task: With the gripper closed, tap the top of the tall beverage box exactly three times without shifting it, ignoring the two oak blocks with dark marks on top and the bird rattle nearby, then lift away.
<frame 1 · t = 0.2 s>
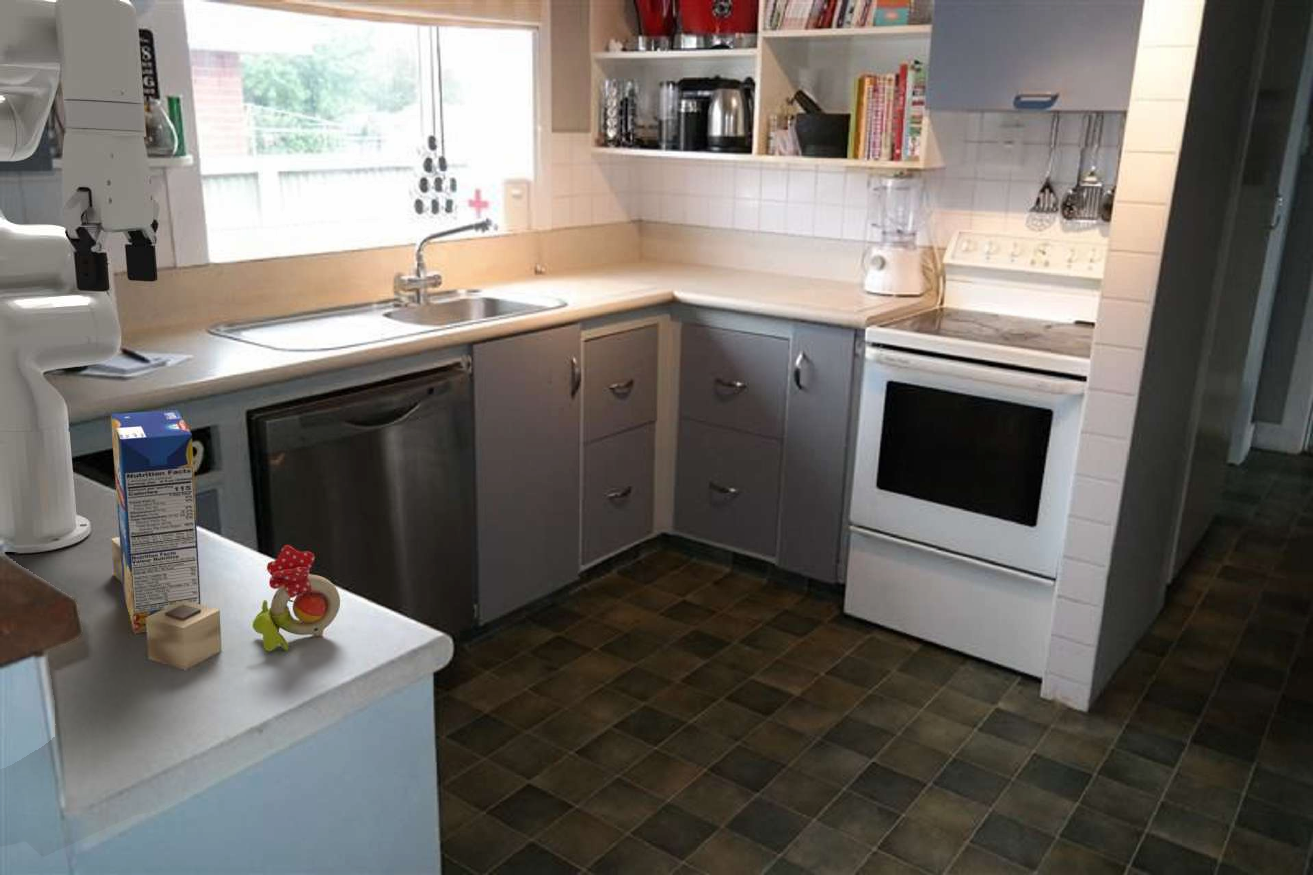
hand: (119, 285, 116), 37 cm above the counter, tool pointing down, fingers open, 9 cm apart
beverage box: (161, 610, 123), on the counter
marked oak block near: (185, 655, 113), on the counter
marked oak block far: (142, 577, 131), on the counter
bird rattle: (296, 641, 118), on the counter
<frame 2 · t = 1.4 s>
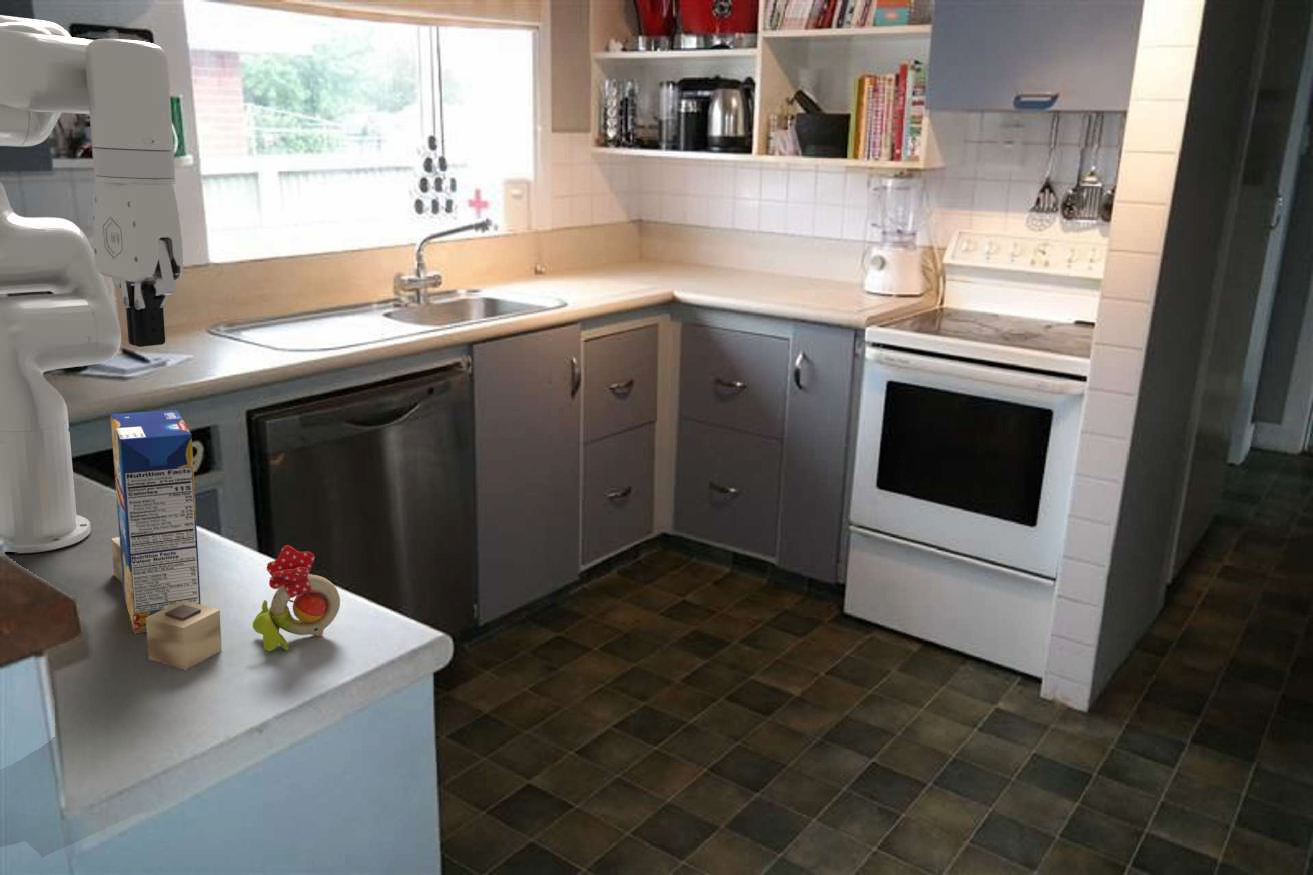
hand: (147, 344, 115), 31 cm above the counter, tool pointing down, fingers closed
nothing on the counter moved.
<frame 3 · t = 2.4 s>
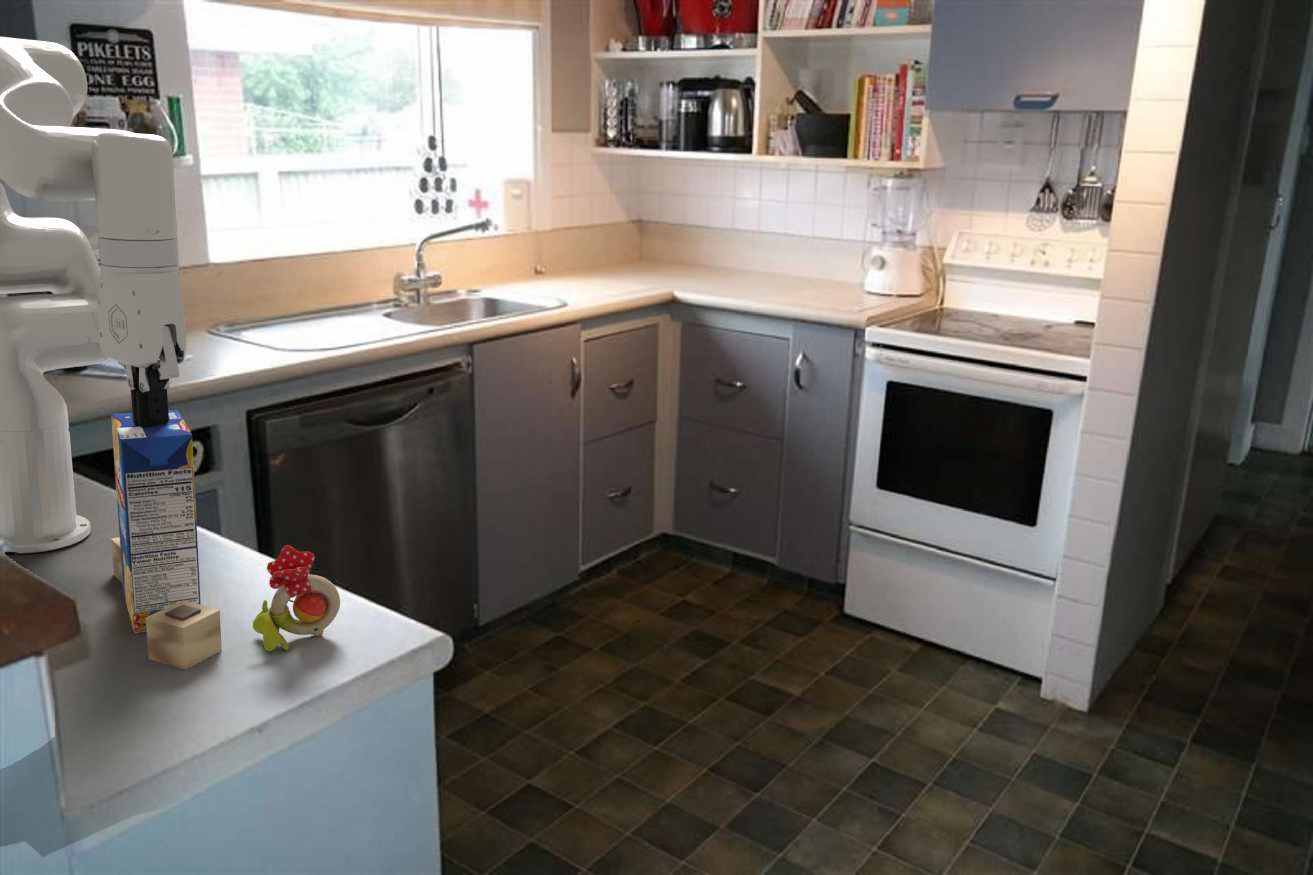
hand: (151, 424, 117), 22 cm above the counter, tool pointing down, fingers closed
beverage box: (161, 610, 123), on the counter, touching gripper
everything else where it was.
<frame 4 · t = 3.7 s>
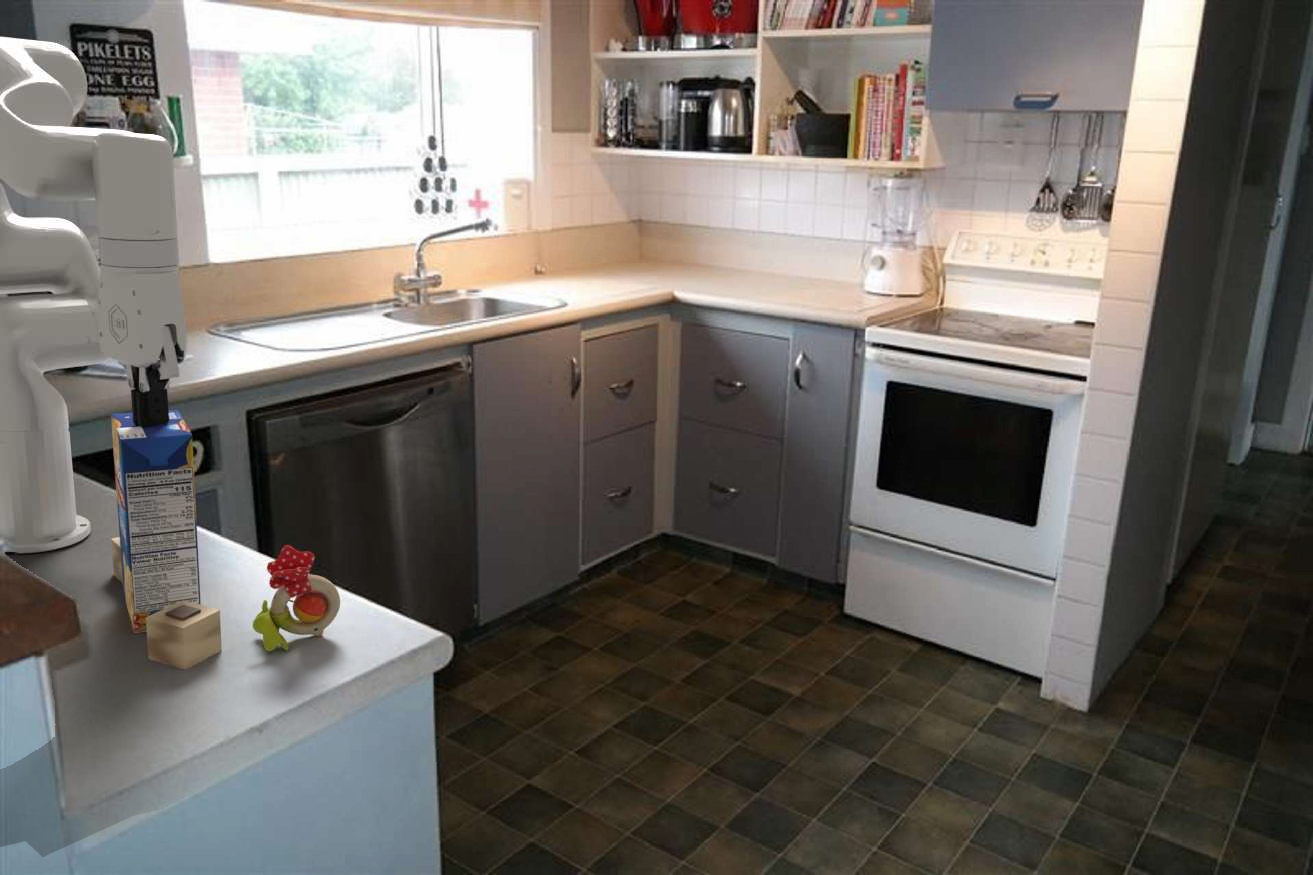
hand: (151, 424, 117), 22 cm above the counter, tool pointing down, fingers closed
nothing on the counter moved.
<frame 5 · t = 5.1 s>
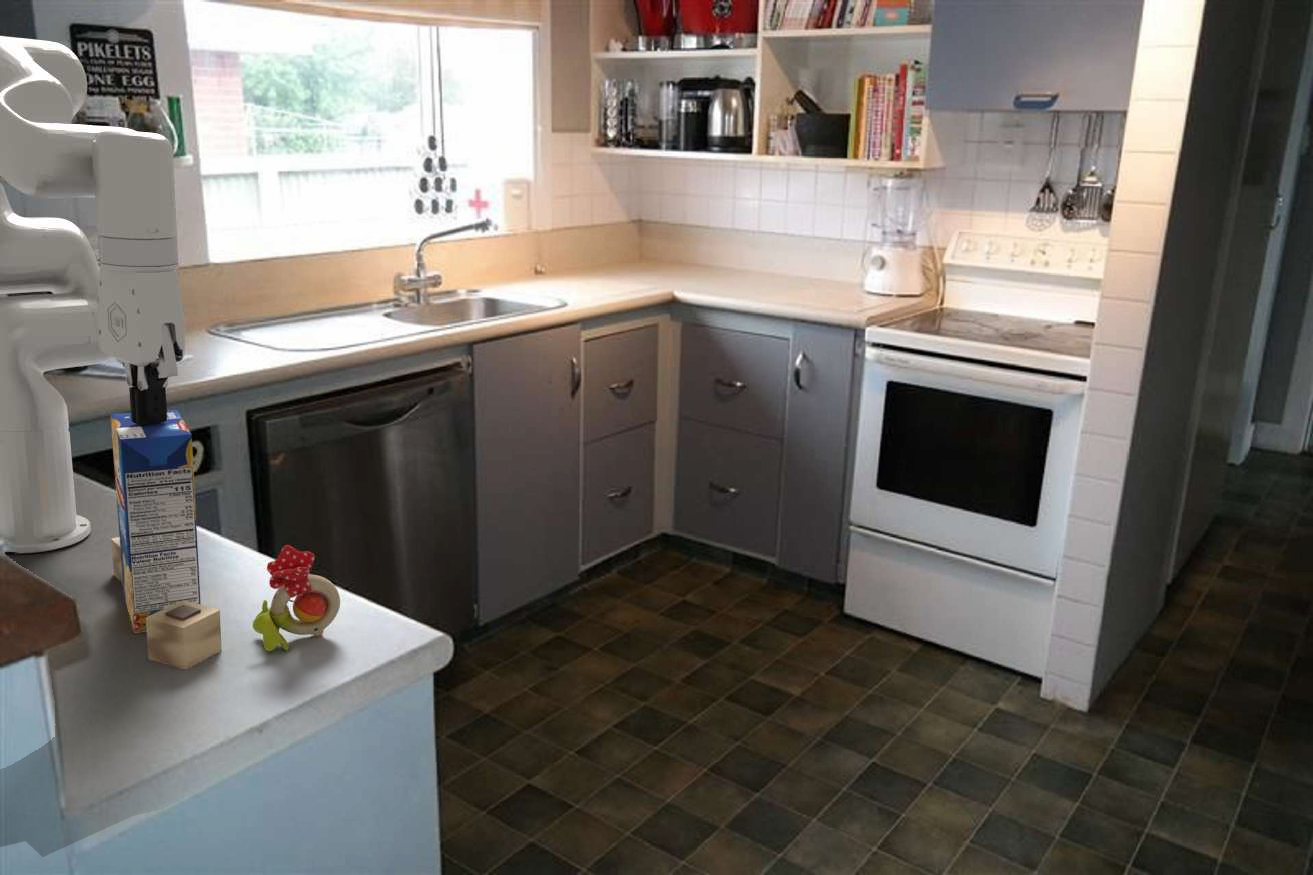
hand: (149, 421, 117), 22 cm above the counter, tool pointing down, fingers closed
beverage box: (161, 610, 123), on the counter
everything else where it was.
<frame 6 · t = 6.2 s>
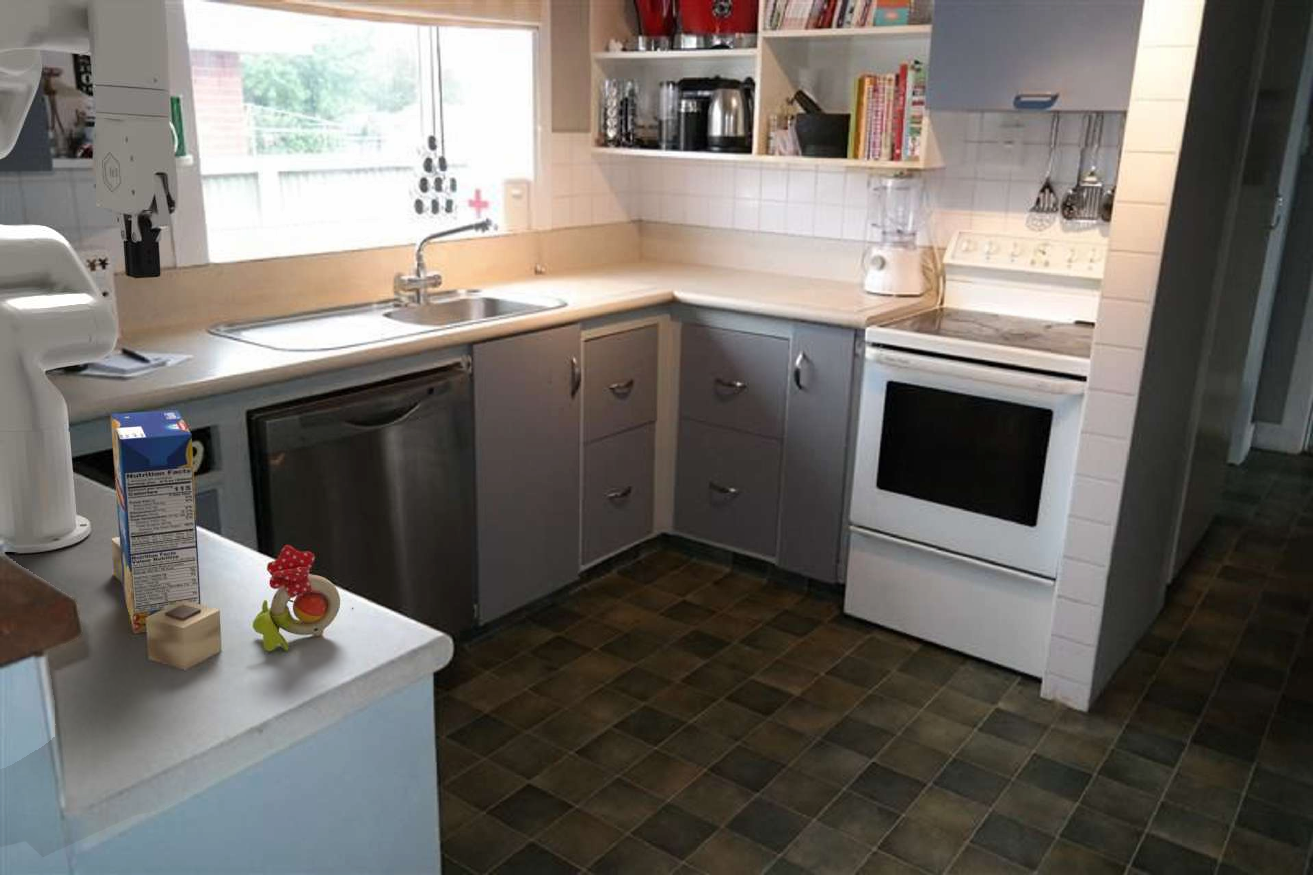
hand: (143, 276, 120), 37 cm above the counter, tool pointing down, fingers closed
nothing on the counter moved.
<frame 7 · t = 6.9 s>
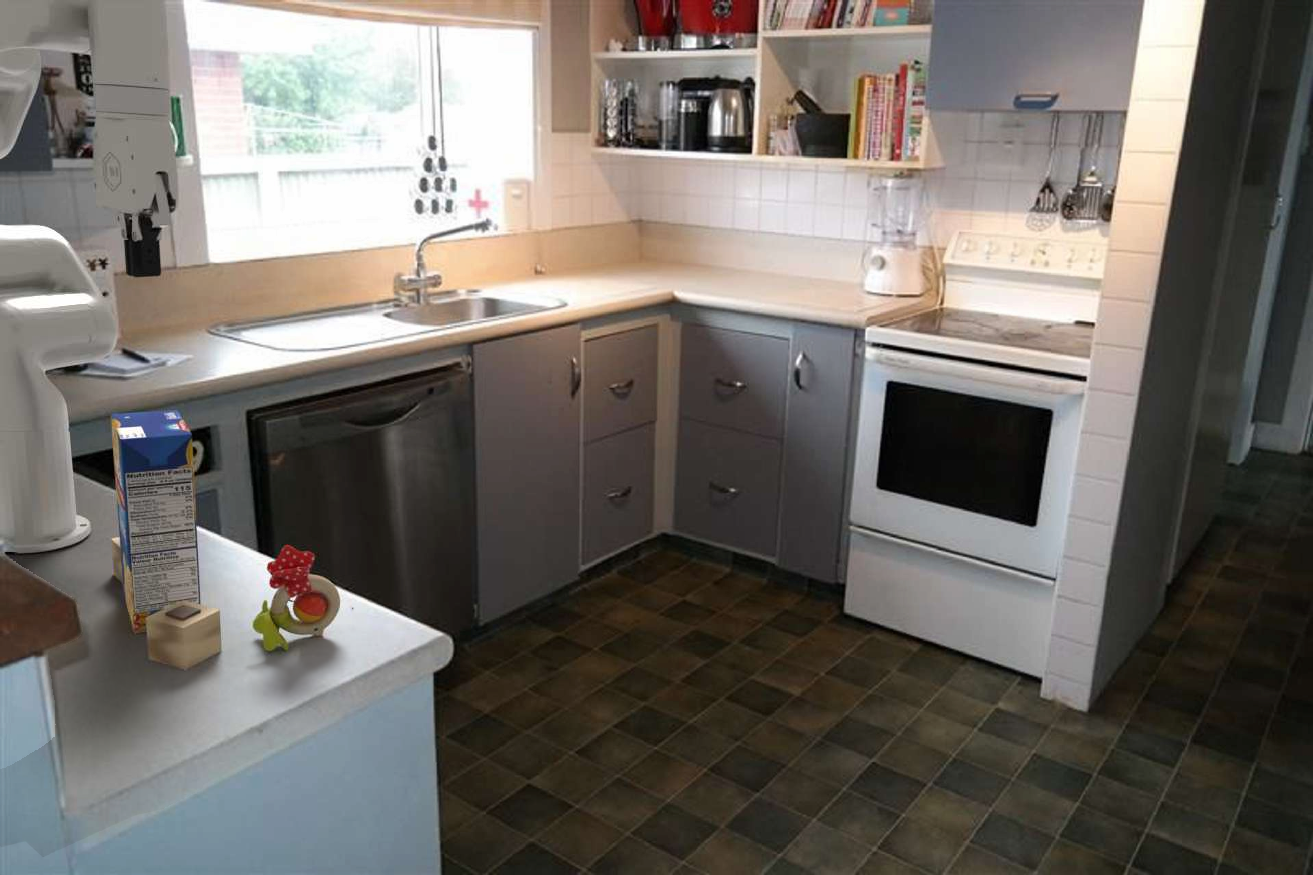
hand: (143, 275, 120), 37 cm above the counter, tool pointing down, fingers closed
nothing on the counter moved.
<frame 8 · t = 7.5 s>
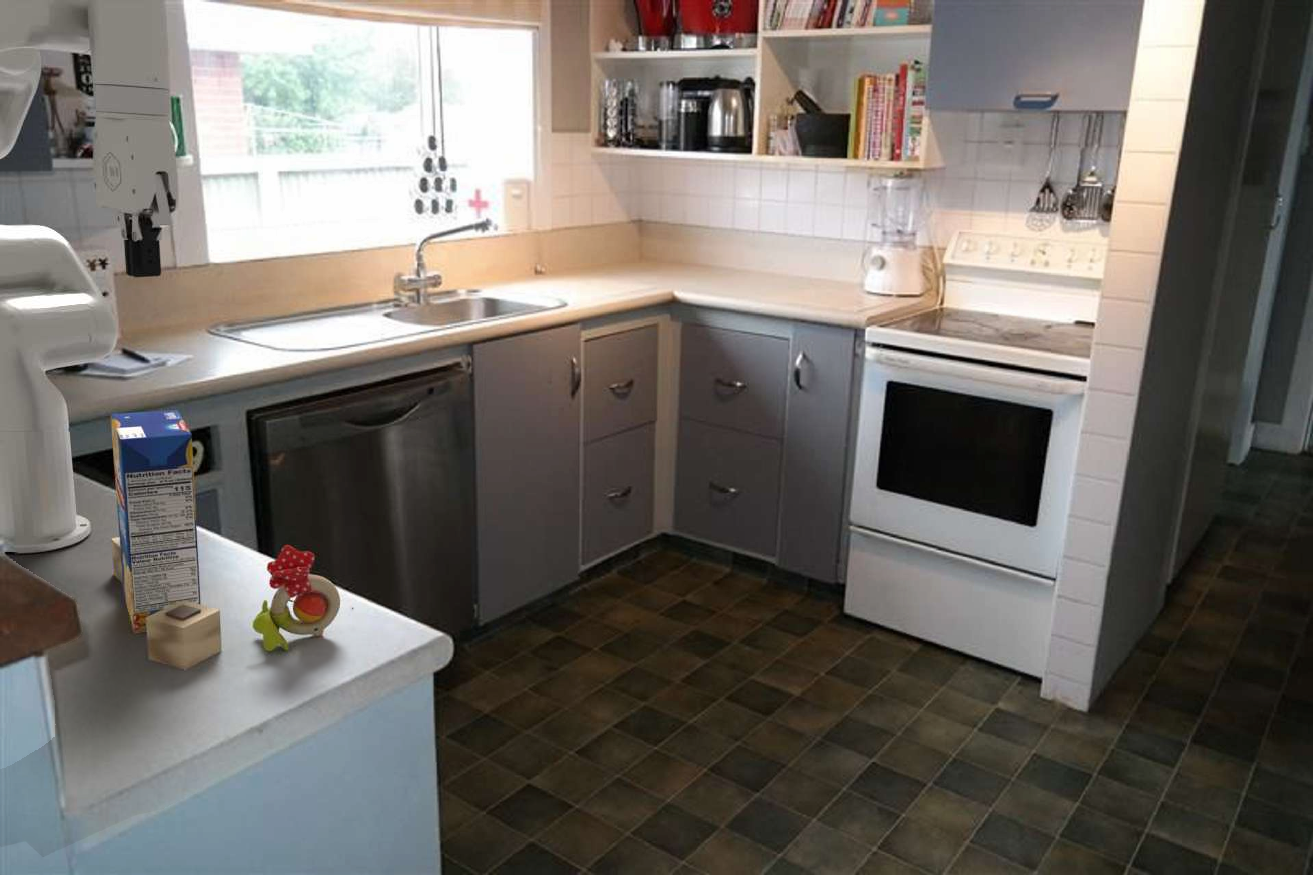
hand: (143, 275, 120), 37 cm above the counter, tool pointing down, fingers closed
nothing on the counter moved.
at the end: beverage box moved 0.2 cm from its start; beverage box tilted 0°; marked oak block near moved 0.1 cm from its start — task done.
